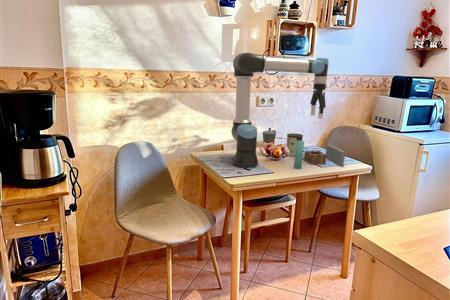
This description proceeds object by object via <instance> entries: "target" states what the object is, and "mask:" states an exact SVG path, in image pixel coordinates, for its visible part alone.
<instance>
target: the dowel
mask: <svg viewBox="0 0 450 300" xmlns="http://www.w3.org/2000/svg"><path fill="white" fill-rule="evenodd" d="M304 145H305V141H304V140H302V141H296V149H295V157H294V163H293V168H294V169H297V170H301V169H302V168H303V159H304V148H305V147H304Z"/></svg>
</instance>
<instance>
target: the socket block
mask: <svg viewBox="0 0 450 300" xmlns="http://www.w3.org/2000/svg"><path fill="white" fill-rule="evenodd" d="M326 156H327V155H326V153H324V152H323V151H320V150H305V151H304V153H303V161H305V162H306V163H308V164H309V165H326V161H327V158H326Z"/></svg>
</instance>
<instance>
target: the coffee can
mask: <svg viewBox="0 0 450 300" xmlns="http://www.w3.org/2000/svg"><path fill="white" fill-rule="evenodd" d="M303 136H304V135H303V134H300V133H287V135H286V146H287V147H288V149H289V151H290V153H289V156H288V157H291V158H295V149H296V141H303Z"/></svg>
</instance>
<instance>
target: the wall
mask: <svg viewBox="0 0 450 300" xmlns="http://www.w3.org/2000/svg"><path fill="white" fill-rule="evenodd" d="M325 154H326V155H327V156H326V160H328V161H330V162H331V163H334V164H336V165H337V166H339V167H344V166H345V165H344V163H345V158H346V157H345V156H346V151H344V150H342V149H341V148H340V149H339V148H338V147H336V146H333V145H332V144H326V149H325Z"/></svg>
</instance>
